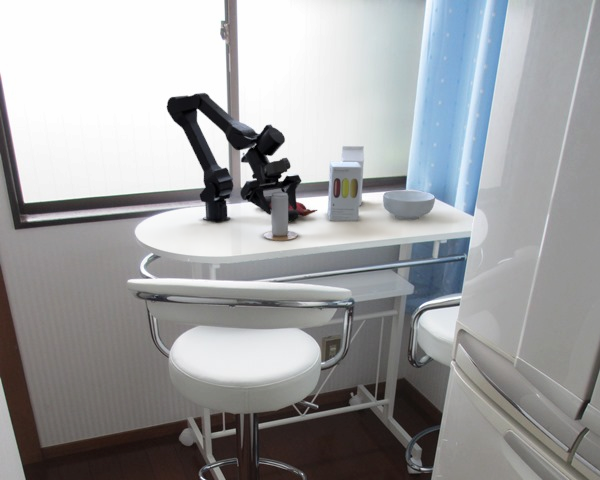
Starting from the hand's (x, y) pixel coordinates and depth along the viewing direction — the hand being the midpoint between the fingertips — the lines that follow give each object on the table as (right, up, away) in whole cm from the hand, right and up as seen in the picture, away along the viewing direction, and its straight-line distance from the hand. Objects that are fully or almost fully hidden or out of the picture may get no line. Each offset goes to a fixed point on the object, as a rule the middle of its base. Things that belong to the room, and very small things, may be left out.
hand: (283, 211), depth 199 cm
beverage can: (-1, -6, +5) cm, 8 cm away
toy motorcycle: (+1, +7, +29) cm, 29 cm away
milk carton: (+23, +14, +42) cm, 50 cm away
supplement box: (+19, +5, +25) cm, 31 cm away
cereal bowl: (+40, +5, +26) cm, 48 cm away
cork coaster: (-1, -6, +5) cm, 8 cm away
